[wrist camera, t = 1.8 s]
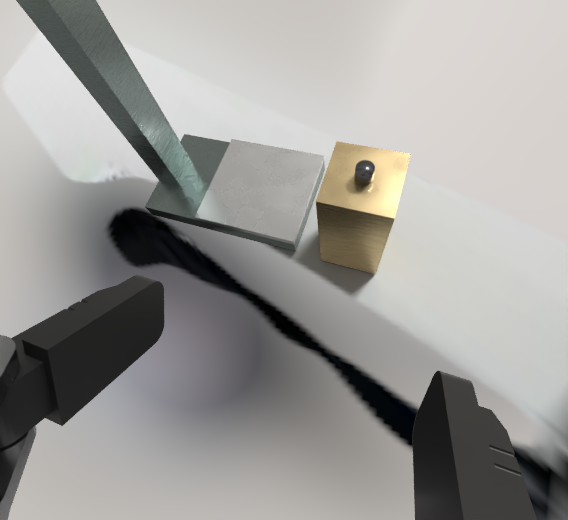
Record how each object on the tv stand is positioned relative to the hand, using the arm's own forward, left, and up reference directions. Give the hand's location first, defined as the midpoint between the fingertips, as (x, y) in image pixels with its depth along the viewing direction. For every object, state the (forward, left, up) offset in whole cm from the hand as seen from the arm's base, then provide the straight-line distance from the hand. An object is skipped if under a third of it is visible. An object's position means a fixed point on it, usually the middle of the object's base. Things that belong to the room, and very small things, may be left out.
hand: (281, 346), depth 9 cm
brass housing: (0, -13, -19) cm, 23 cm away
